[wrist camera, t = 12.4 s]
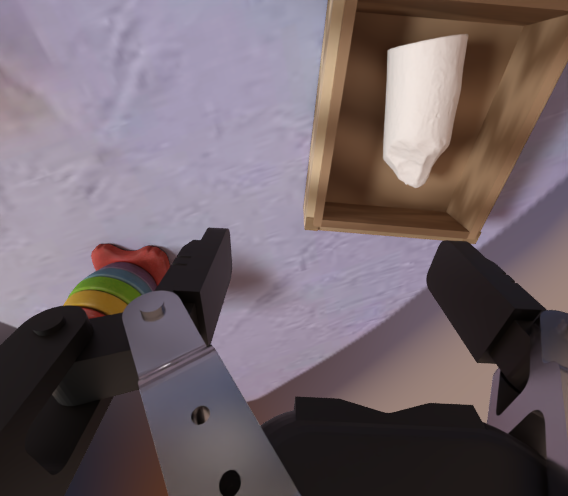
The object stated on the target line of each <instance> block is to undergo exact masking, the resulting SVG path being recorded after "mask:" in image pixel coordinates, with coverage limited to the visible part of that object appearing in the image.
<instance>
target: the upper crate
mask: <svg viewBox="0 0 568 496" xmlns="http://www.w3.org/2000/svg"><path fill="white" fill-rule="evenodd" d="M459 34H468V41H467V47H466V54H465V60H464V65H463V74H462V85H461V92H460V97H459V101H458V105H457V110H456V114H455V119H454V124H453V129H452V135H451V140H450V144H449V146H448V147H447V149H446V150H445V151H444V152H443V153H442V154H441V155H440V156H439V158H438V159H437V161H436V162H435V164H434V165H433V166H432V169H431V171H430V174H429V177H428V179H427V180H426V182H425V184H423V185H422V186H421V187H418V188H414V187H412V186H409V185H408V184H407V185H406V184H405V183H404V182H403V181H401V180H399V179H398V177H397V175H396V174H395V173H394V171H393V169H391V168H390V166H389V165H387V163H386V162H385V161H384V159H383V141H384V121H385V104H386V84H387V51H388V50H389V49H391V48H395V47H398V46H402V45H407V44H411V43H416V42H419V41H424V40H429V39H434V38H439V37H446V36H451V35H459ZM567 57H568V0H345V2H344V9H343V16H342V23H341V30H340V37H339V44H338V51H337V58H336V65H335V72H334V79H333V86H332V93H331V100H330V107H329V114H328V121H327V128H326V135H325V142H324V149H323V156H322V163H321V170H320V177H319V184H318V191H317V198H316V205H315V212H314V220H313V226H317V227H329V228H341V229H353V230H365V231H377V232H389V233H401V234H413V235H425V236H437V237H449V238H461V239H473V240H475V238H476V236H477V234H478V232H479V230H480V228H481V226H482V224H483V222H484V220H485V218H486V216H487V214H488V212H489V210H490V208H491V206H492V204H493V202H494V201H495V199H496V197H497V195H498V193H499V191H500V189H501V187H502V185H503V183H504V181H505V179H506V177H507V175H508V173H509V171H510V169H511V167H512V165H513V163H514V161H515V159H516V157H517V155H518V153H519V151H520V150H521V148H522V146H523V144H524V142H525V140H526V138H527V136H528V134H529V132H530V130H531V128H532V126H533V124H534V122H535V120H536V118H537V116H538V114H539V112H540V110H541V108H542V106H543V104H544V102H545V100H546V99H547V97H548V95H549V93H550V91H551V89H552V87H553V85H554V83H555V81H556V79H557V77H558V75H559V73H560V71H561V69H562V67H563V65H564V63H565V61H566V59H567Z"/></svg>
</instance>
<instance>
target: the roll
mask: <svg viewBox="0 0 568 496" xmlns="http://www.w3.org/2000/svg"><path fill="white" fill-rule="evenodd" d="M467 41H468V34H459V35H451V36H446V37H439V38H434V39H429V40H424V41H419V42H416V43H411V44H407V45H402V46H398V47H395V48H391V49H389V50H388V51H387V84H386V104H385V121H384V141H383V159H384V161H385V162H386V163H387V165H389V166H390V168H391V169H393V171H394V173H395V174H396V175H397V177H398V179H399V180H401V181H403V182H404V183H405V184H406V185H407V184H408V185H409V186H412V187H414V188H418V187H421V186H422V185H423V184H425V182H426V180H427V179H428V177H429V174H430V171H431V169H432V166H433V165H434V164H435V162H436V161H437V159H438V158H439V156H440V155H441V154H442V153H443V152H444V151H445V150H446V149H447V147H448V146H449V144H450V140H451V135H452V129H453V124H454V119H455V114H456V110H457V105H458V101H459V97H460V92H461V85H462V74H463V65H464V60H465V54H466V47H467Z"/></svg>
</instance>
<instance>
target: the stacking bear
mask: <svg viewBox="0 0 568 496" xmlns="http://www.w3.org/2000/svg"><path fill="white" fill-rule="evenodd" d="M91 257H92V262H93V265H94V267H95V269H96V271H95V272H94V273H92V274H91V275H89V276H88V277H86V278H85V279H84V280H83V281H81V282H80V283H79V284H78V285H77V286H76V287H75V288H74V289H73V291H72V292H71V294H70V295H69V297H68V299H67V300H66V302H65V303H64V305H63V306H65V305H73V306H78V307H81V308H82V309H84V311H85V312H86V314H87V316H88V318H89V319H90V318H95V317H101V316H106V315H112V314H117V313H122V312H123V311H124V309H125V308H126V306H127V305H128V304H129V303H130V302H131V301H133V300H134V299H136V298H137V297H139V296H141V295H143V294H146V293H149V292H154V291H155V289H156V288H157V286H158V285H159V283H160V282H161V280H162V278H163V277H164V275H165V274H166V272H167V271H168V269H169V268H170V264H169V260H168V257H167V255H166V253H165V252H163V251H162V250H160V249H159V248H157V247H152V246H145V247H143V248H141V249H139V250H136V251H126V250H122V249H119V248H117V247H115V246H113V245H110V244H105V245H104V244H99V245H98V246H97V247H96V248H95V249H94V250H93V251H92V255H91Z"/></svg>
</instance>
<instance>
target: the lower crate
mask: <svg viewBox="0 0 568 496" xmlns="http://www.w3.org/2000/svg"><path fill="white" fill-rule="evenodd" d="M344 2H345V0H328V3H327V12H326V20H325V29H324V37H323V46H322V54H321V63H320V71H319V80H318V88H317V96H316V105H315V113H314V122H313V130H312V139H311V147H310V156H309V164H308V173H307V181H306V189H305V198H304V206H303V209H304V227H305V230H314V231H318V230H324V231H336V232H348V233H360V234H372V235H384V236H396V237H408V238H420V239H432V240H453V241H467V242H469V243H470V244H476V242H477V240H478V238H479V236H480V234H481V232H480V231H481V229H482V227H483V225H484V223H485V221H486V220H487V218H488V216H489V214H490V212H491V210H492V208H493V206H494V204H495V202H496V200H497V198H498V196H499V194H500V192H501V190H502V188H503V186H504V184H505V183H506V181H507V179H508V177H509V175H510V173H511V171H512V169H513V167H514V165H515V163H516V161H517V159H518V157H519V155H520V153H521V151H522V149H523V147H524V146H525V144H526V142H527V140H528V138H529V136H530V134H531V132H532V130H533V128H534V126H535V124H536V122H537V120H538V118H539V116H540V114H541V112H542V110H543V109H544V107H545V105H546V103H547V101H548V99H549V97H550V95H551V93H552V91H553V89H554V87H555V85H556V83H557V81H558V79H559V77H560V75H561V73H562V72H563V70H564V68H565V66H566V64H567V62H568V57H567V59H566V61H565V63H564V65H563V67H562V69H561V71H560V73H559V75H558V77H557V79H556V81H555V83H554V85H553V87H552V89H551V91H550V93H549V95H548V97H547V99H546V100H545V102H544V104H543V106H542V108H541V110H540V112H539V114H538V116H537V118H536V120H535V122H534V124H533V126H532V128H531V130H530V132H529V134H528V136H527V138H526V140H525V142H524V144H523V146H522V148H521V150H520V151H519V153H518V155H517V157H516V159H515V161H514V163H513V165H512V167H511V169H510V171H509V173H508V175H507V177H506V179H505V181H504V183H503V185H502V187H501V189H500V191H499V193H498V195H497V197H496V199H495V201H494V202H493V204H492V206H491V208H490V210H489V212H488V214H487V216H486V218H485V220H484V222H483V224H482V226H481V228H480V230H479V232H478V234H477V236H476V238H475V240H473V239H461V238H449V237H437V236H425V235H413V234H401V233H389V232H377V231H365V230H353V229H341V228H329V227H317V226H313V220H314V212H315V205H316V198H317V191H318V184H319V177H320V170H321V163H322V156H323V149H324V142H325V135H326V128H327V121H328V114H329V107H330V100H331V93H332V86H333V79H334V72H335V65H336V58H337V51H338V44H339V37H340V30H341V23H342V16H343V9H344Z"/></svg>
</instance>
